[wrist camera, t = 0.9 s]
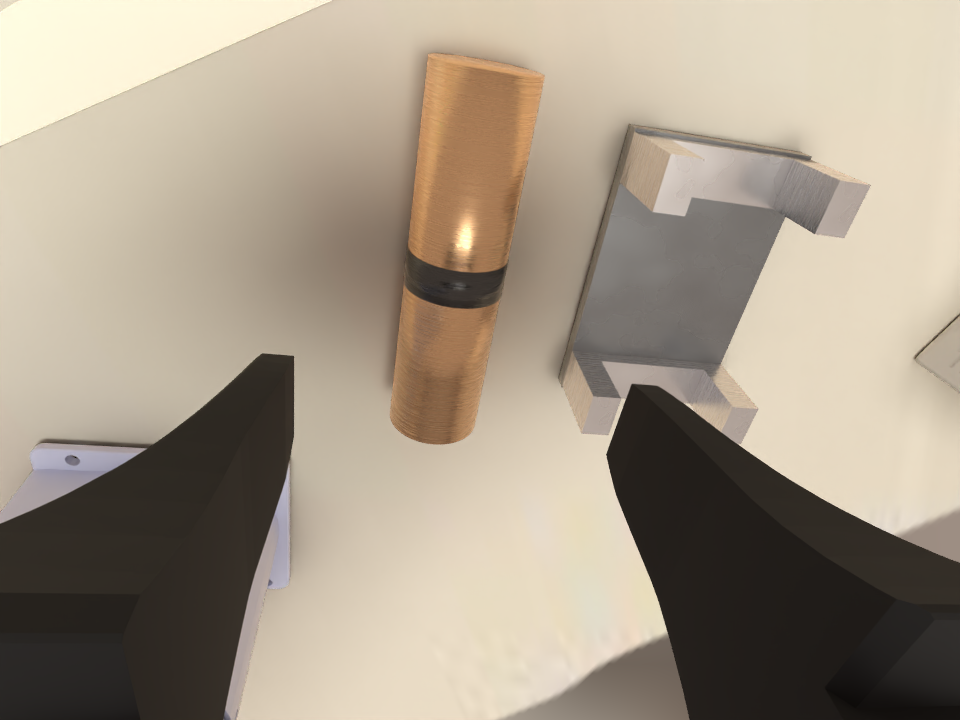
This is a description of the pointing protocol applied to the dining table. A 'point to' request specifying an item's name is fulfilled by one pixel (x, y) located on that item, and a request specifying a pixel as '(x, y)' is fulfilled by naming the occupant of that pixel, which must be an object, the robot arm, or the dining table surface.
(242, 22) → the clear flat square panel
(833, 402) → the dining table surface
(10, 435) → the dining table surface
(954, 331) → the skincare box
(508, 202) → the tube
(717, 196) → the cradle
